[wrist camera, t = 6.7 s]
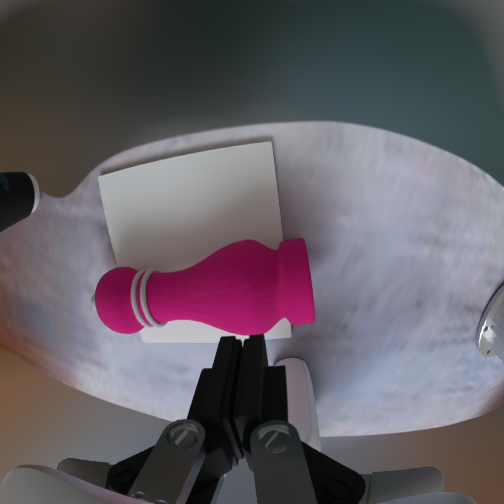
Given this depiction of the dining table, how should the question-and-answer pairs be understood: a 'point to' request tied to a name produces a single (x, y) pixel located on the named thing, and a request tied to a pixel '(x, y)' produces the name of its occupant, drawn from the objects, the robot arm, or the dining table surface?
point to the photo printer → (301, 401)
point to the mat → (193, 219)
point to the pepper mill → (213, 291)
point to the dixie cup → (17, 197)
